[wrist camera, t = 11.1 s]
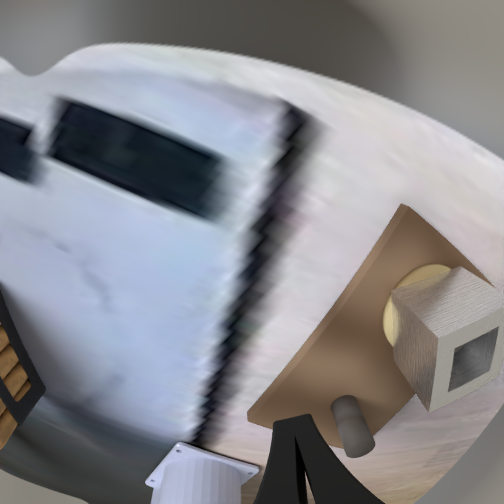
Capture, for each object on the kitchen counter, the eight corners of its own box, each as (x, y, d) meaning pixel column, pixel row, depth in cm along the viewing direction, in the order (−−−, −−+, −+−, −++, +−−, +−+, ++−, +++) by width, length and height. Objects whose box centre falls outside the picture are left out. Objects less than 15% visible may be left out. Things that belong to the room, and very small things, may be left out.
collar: (456, 333, 19) (498, 376, 14) (393, 359, 19) (428, 413, 14) (460, 266, 17) (514, 301, 12) (390, 290, 17) (438, 338, 12)
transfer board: (352, 443, 24) (369, 490, 19) (247, 411, 22) (250, 470, 16) (487, 282, 20) (533, 313, 14) (401, 203, 18) (455, 224, 12)
